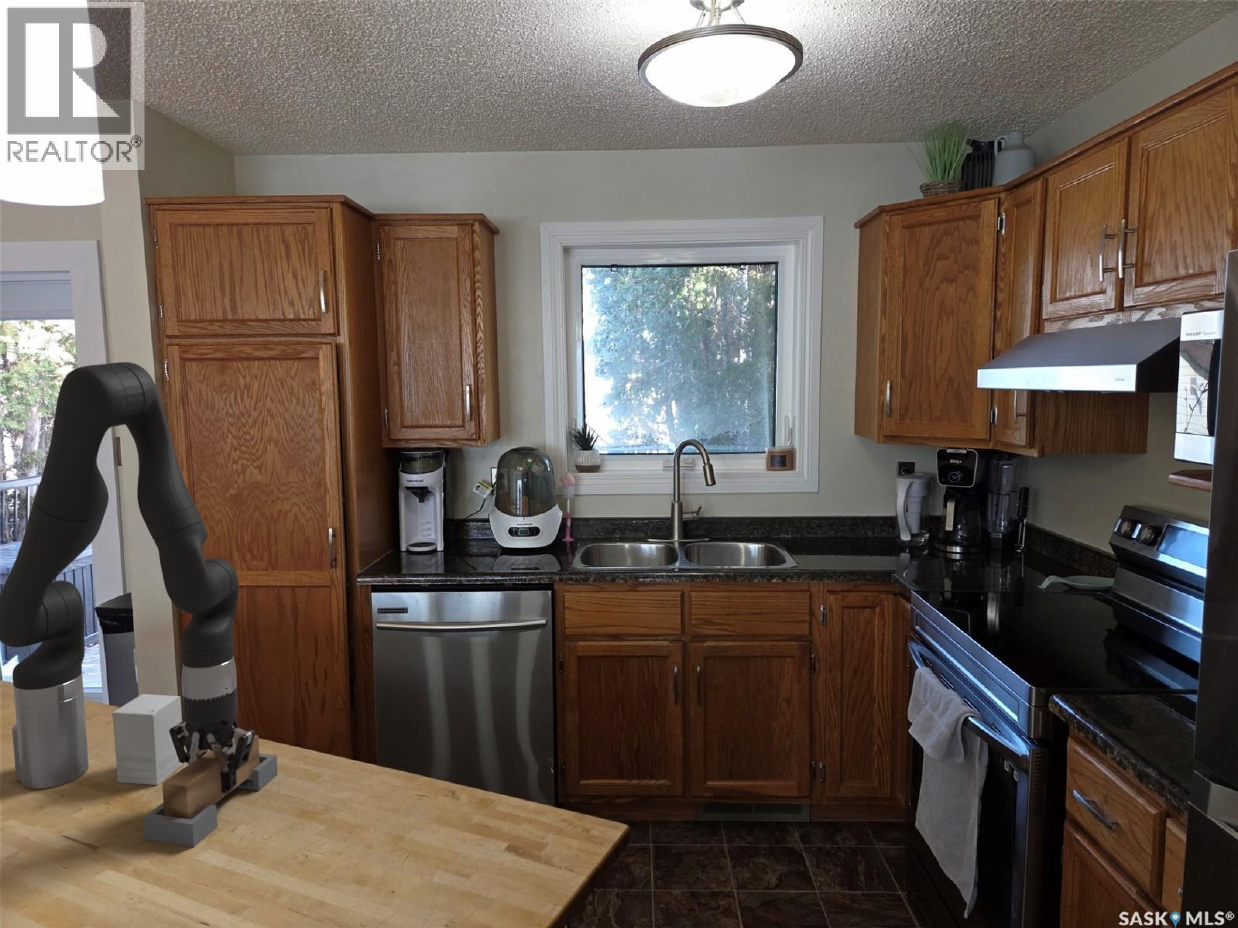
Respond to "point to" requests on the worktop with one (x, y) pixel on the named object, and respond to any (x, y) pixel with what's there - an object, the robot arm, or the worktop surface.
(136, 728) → the supplement box
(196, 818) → the endcap
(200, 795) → the brown wooden bar
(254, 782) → the endcap
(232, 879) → the worktop surface
